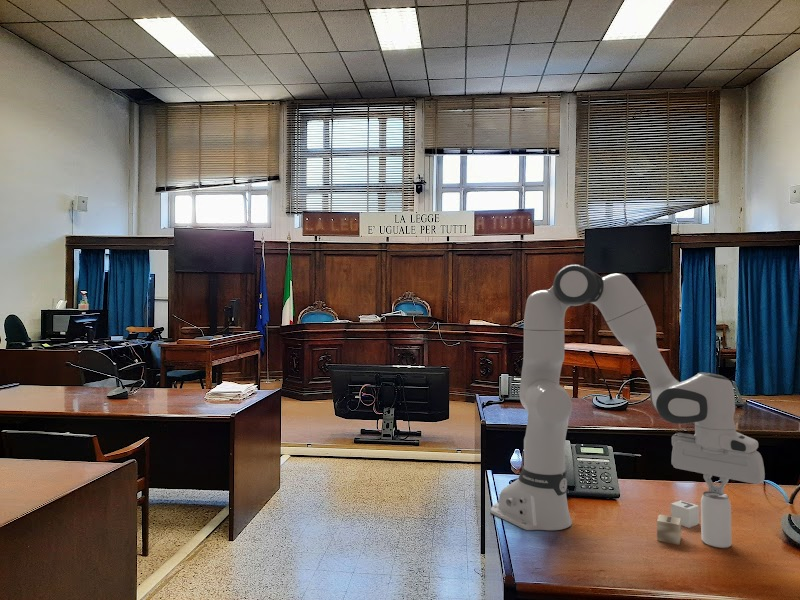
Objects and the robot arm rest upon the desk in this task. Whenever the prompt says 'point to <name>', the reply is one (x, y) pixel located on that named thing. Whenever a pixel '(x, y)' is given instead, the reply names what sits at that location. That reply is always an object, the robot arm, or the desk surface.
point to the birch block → (669, 529)
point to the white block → (685, 513)
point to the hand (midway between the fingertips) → (716, 493)
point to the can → (716, 520)
